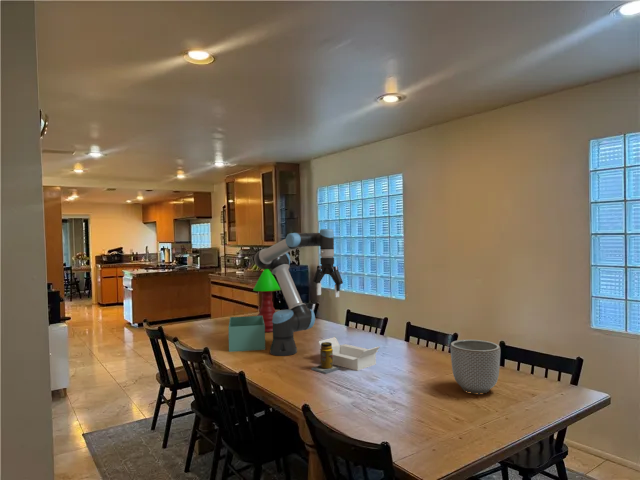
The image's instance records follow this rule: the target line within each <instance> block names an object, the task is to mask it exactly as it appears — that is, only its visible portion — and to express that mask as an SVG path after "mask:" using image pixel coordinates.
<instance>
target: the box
mask: <svg viewBox="0 0 640 480" xmlns="http://www.w3.org/2000/svg"><path fill="white" fill-rule="evenodd" d="M227 327H228V352H229V353H231V352H232V353H233V352H246V351H249V352H250V351H262V350H266V332H265V324H264V320H263V316H257V315H249V316H246V315H245V316H230V317H229V322H228V326H227Z"/></svg>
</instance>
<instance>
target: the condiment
mask: <svg viewBox="0 0 640 480" xmlns="http://www.w3.org/2000/svg"><path fill="white" fill-rule="evenodd" d="M319 351H320V352H319V353H320V365H321V366H319V365H317V366H316V365H315V366H314V367H315V368H317V369H319V370H321V371H323V370H328V369H333V368H336V367H337V366H336V367H333V366H334V364H333V349H332V344H331V343H330V342H323V343H321V346H320V350H319Z"/></svg>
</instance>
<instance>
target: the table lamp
mask: <svg viewBox="0 0 640 480" xmlns="http://www.w3.org/2000/svg"><path fill="white" fill-rule="evenodd" d="M252 289H253V290H252V291H253V292H256V293H257V292H258V293H259V292H261V299H262V300H261V307H260V308H259V312H258V314H257V315H256V316H263V320H264V324H265V333H273V322H272V320H273V314H274V313H275V312H276V309H275V307H274V302H273V292H278V291H282V290H281V287H280V285H279V282H278V280H277V279H276V278H275V276H274V274H272V272H271V269H263V271H262V272H261V274H260V276H259V277H258V279H257V281H256V284H255V285H254V287H253V288H252Z"/></svg>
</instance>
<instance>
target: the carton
mask: <svg viewBox="0 0 640 480" xmlns="http://www.w3.org/2000/svg"><path fill="white" fill-rule="evenodd" d="M317 342H318V345H319V346H320V347H321V343H323V342H330V343H331V344H332V349H333V366H337V367H342V368H347V369H349V370H354V371H357V372H359V371H361V370H364V369H366V368H370V367H372V366H375V365H377V359H376V358H377V353H378V352H379V351H378V350H379V349H380V348H381V346H379V345H378V346H376V347H372V348H365V347H362V346H356V345H351V344H346V343H344V344H340V343H339V341H338V339H337V338H336V337H335V336H334V337H331V338H327V339H323V340H319V341H317ZM318 352H319V353H320V350H318Z"/></svg>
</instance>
